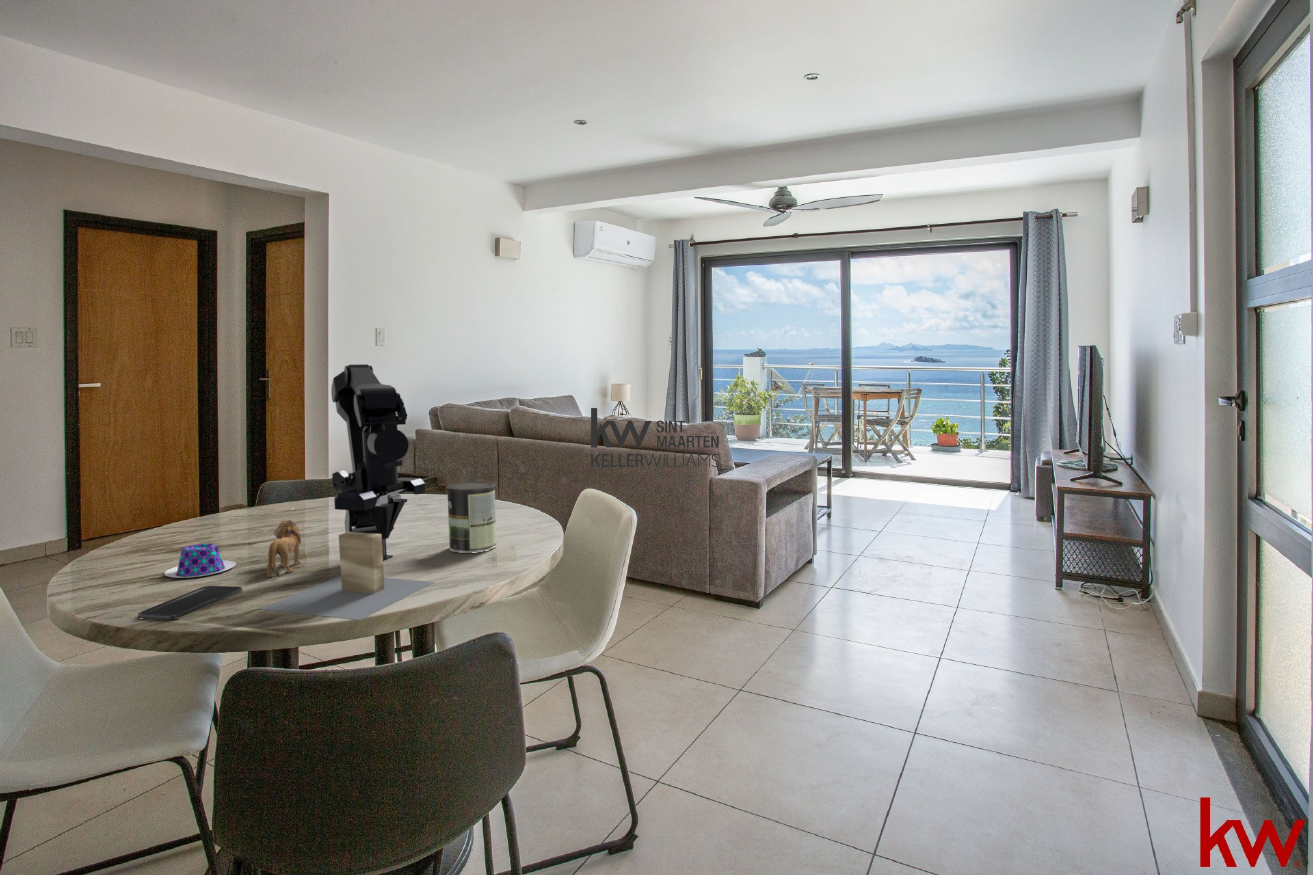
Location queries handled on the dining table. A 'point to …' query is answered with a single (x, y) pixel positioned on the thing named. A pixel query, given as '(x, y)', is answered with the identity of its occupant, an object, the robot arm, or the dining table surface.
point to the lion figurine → (284, 546)
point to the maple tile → (361, 562)
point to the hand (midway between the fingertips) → (384, 538)
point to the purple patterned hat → (199, 562)
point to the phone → (189, 602)
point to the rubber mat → (346, 599)
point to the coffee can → (471, 516)
